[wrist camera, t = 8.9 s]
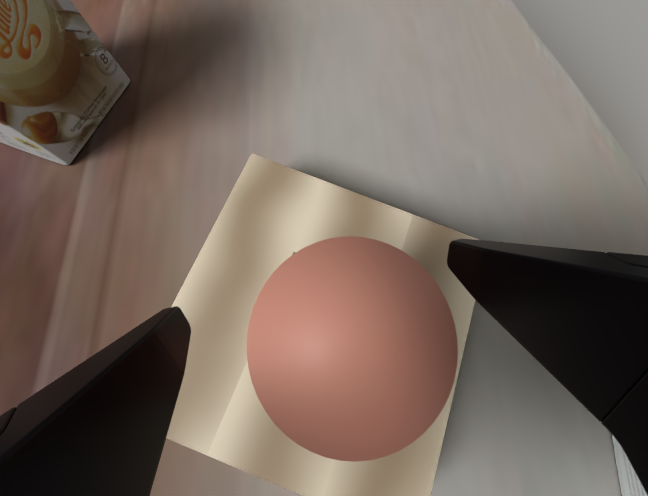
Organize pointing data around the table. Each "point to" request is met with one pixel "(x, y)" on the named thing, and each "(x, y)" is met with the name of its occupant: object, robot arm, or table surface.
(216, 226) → the socket board
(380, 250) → the peg
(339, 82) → the table surface
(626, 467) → the supplement box
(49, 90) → the white food box
